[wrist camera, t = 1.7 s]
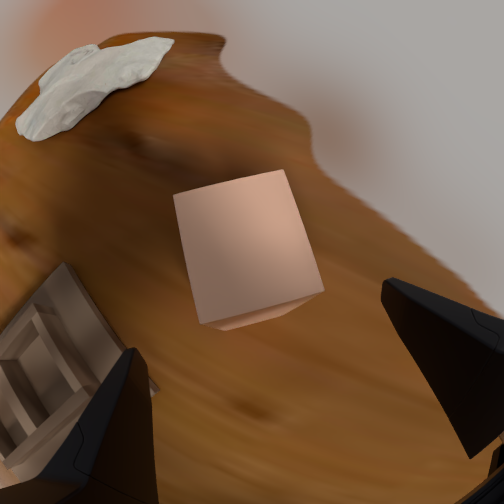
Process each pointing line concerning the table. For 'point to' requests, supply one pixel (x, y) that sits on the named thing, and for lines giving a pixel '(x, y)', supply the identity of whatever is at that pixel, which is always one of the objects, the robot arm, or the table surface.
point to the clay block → (246, 250)
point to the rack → (51, 370)
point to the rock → (87, 84)
